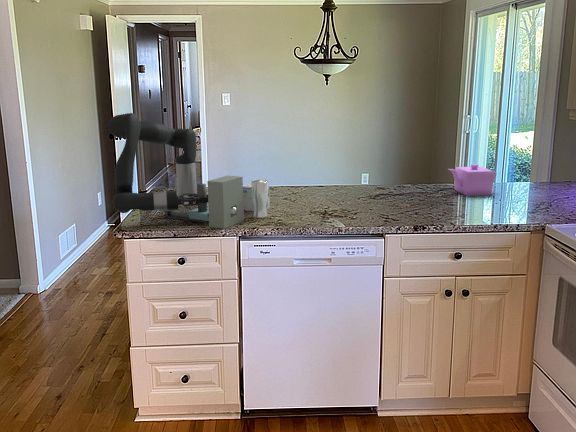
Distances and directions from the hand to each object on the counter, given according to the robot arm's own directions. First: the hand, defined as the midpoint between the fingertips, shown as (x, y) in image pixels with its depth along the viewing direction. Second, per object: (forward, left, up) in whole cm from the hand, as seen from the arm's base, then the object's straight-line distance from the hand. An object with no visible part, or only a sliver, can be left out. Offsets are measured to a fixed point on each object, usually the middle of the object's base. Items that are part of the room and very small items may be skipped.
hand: (208, 198), depth 224 cm
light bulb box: (+7, +24, -9) cm, 27 cm away
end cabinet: (+9, -2, -9) cm, 13 cm away
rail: (-7, -2, -9) cm, 12 cm away
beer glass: (+15, +14, -9) cm, 23 cm away
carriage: (-2, -2, -8) cm, 8 cm away
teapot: (+85, +102, -9) cm, 133 cm away
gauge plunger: (+9, -2, -6) cm, 11 cm away
